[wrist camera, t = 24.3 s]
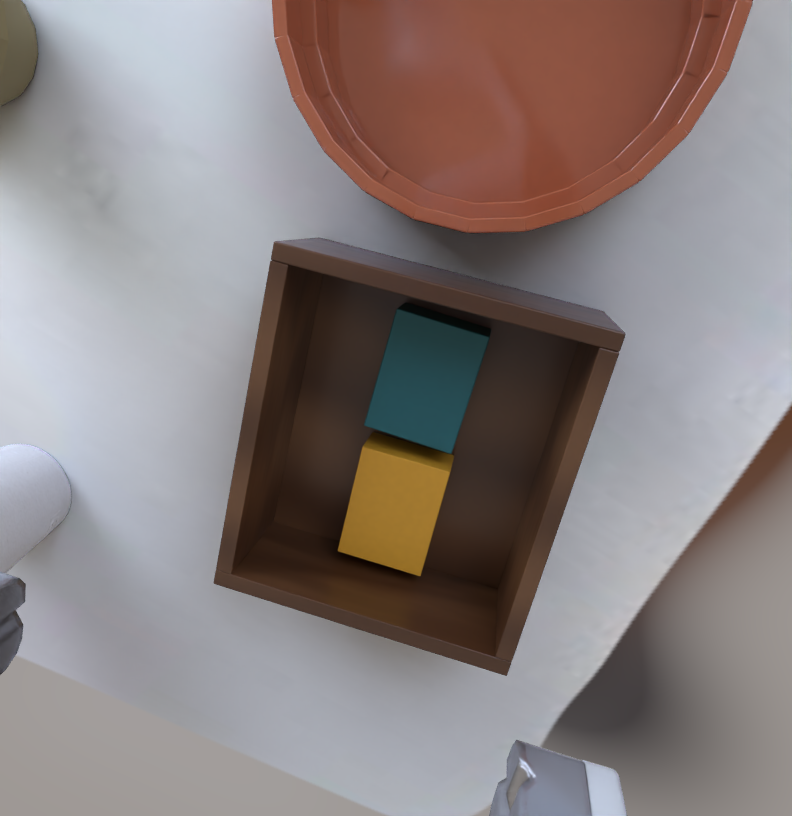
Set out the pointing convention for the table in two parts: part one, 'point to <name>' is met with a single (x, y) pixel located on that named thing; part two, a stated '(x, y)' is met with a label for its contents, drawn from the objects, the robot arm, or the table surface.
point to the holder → (346, 434)
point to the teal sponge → (427, 376)
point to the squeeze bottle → (16, 49)
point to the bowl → (503, 97)
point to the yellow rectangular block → (395, 503)
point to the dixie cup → (29, 500)
